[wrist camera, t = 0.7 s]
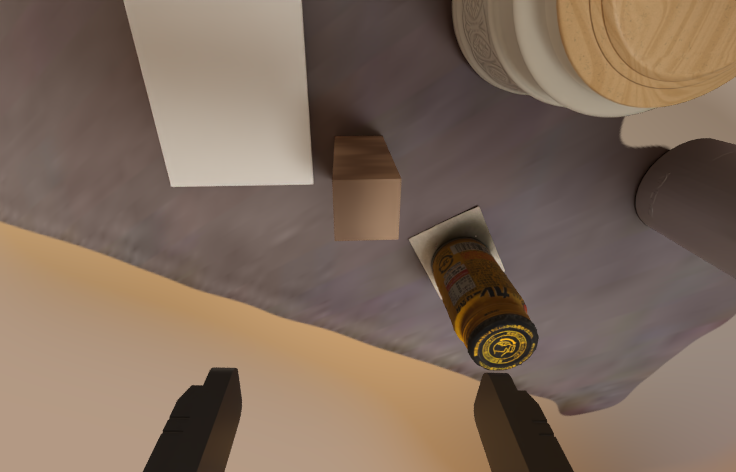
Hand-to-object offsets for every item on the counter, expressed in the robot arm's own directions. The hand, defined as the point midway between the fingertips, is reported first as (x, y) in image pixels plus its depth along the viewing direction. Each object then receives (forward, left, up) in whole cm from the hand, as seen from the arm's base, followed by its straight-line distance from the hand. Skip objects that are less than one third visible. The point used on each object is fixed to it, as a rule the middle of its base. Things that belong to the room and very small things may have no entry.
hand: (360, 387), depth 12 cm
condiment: (-11, +9, -23) cm, 27 cm away
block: (-1, -1, -23) cm, 23 cm away
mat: (+9, -7, -23) cm, 26 cm away
